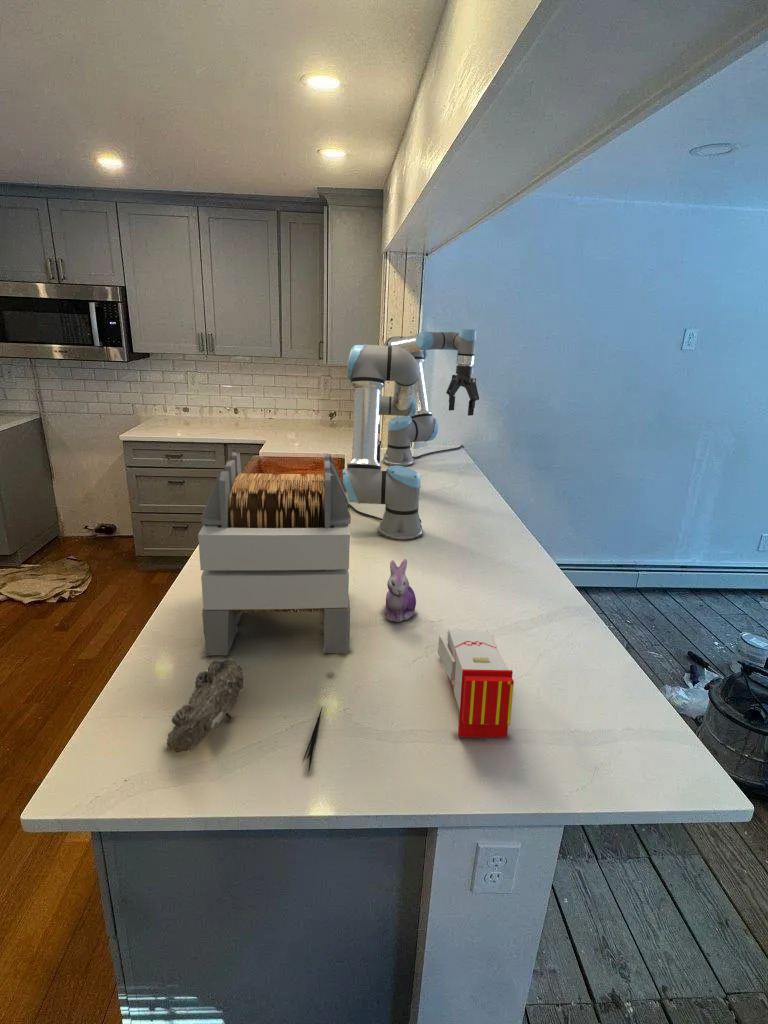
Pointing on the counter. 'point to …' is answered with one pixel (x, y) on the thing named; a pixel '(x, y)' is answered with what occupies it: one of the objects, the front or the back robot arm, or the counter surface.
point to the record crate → (275, 551)
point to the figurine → (399, 594)
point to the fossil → (206, 705)
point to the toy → (478, 682)
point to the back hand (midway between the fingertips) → (460, 412)
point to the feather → (313, 740)
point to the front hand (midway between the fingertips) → (369, 475)
